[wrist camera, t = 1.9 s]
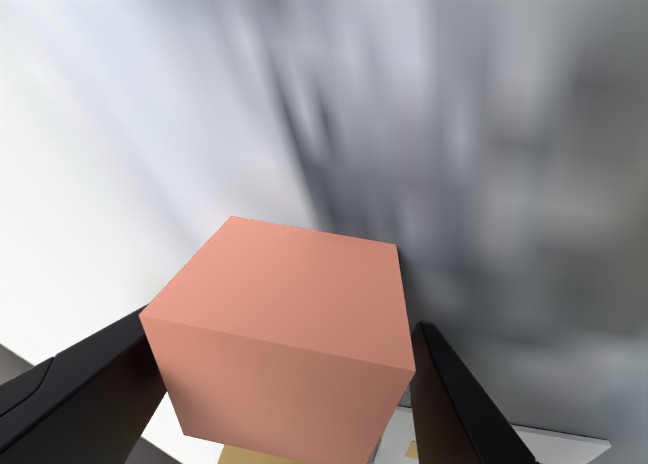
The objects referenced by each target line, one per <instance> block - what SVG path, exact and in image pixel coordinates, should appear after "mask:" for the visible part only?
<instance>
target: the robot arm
mask: <svg viewBox="0 0 648 464" xmlns="http://www.w3.org/2000/svg"><path fill="white" fill-rule="evenodd" d="M147 305H148V304H147ZM147 305H145V306H143V307H142V308H140V309H138V310H136V311H134V312H132V313H131V314H129V315H127V316H125V317H123V318H122V319H120V320H118V321H116V322H114V323H112V324H111V325H109V326H107V327H105V328H103V329H102V330H100V331H98V332H96V333H94V334H92V335H91V336H89V337H87V338H85V339H83V340H82V341H80V342H78V343H76V344H74V345H72V346H71V347H69V348H67V349H65V350H63V351H62V352H60V353H58V354H57V355H56V356H55V357H50V358H49V359H47V360H45V361H43V362H41V363H40V364H38V365H36V366H34V367H32V368H31V369H29V370H27V371H25V372H23V373H21V374H19V375H17V376H15V377H14V378H12V379H10V380H8V381H6V382H4V383H2V384H0V464H124V463H125V462H126V460H127V458H128V457H129V455H130V453H131V451H132V450H133V448H134V446H135V445H136V443H137V441H138V439H139V437H140V436H141V434H142V433H143V431H144V429H145V428H146V426H147V424H148V423H149V421H150V419H151V417H152V416H153V414H154V412H155V411H156V409H157V407H158V406H159V404H160V402H161V400H162V399H163V397H164V395H165V394H166V392H167V389H166V386H165V384H164V381H163V378H162V376H161V373H160V370H159V368H158V365H157V362H156V360H155V357H154V354H153V352H152V349H151V347H150V344H149V341H148V339H147V336H146V333H145V331H144V328H143V325H142V323H141V320H140V318H139V314H140V313H141V312H142V311H143V310H144V309H145V308H146V307H147ZM411 343H412V350H413V356H414V363H415V369H416V372H415V374H414V376H413V378H412V380H411V381H410V395H411V406H412V414H413V422H414V429H415V437H416V444H417V452H418V460H419V464H540V463H539V462H538V461H536V458H535V456H534V455H533V454H532V452H531V451H530V450H529V448H528V447H527V446H526V444H525V443H524V442H523V440H522V439H521V438H520V437H519V435H518V434H517V433H516V431H515V430H514V429H513V427H512V426H511V425H510V423H509V422H508V421H507V419H506V418H505V417H504V415H503V414H502V413H501V412H500V410H499V409H498V408H497V406H496V405H495V404H494V402H493V401H492V400H491V398H490V397H489V396H488V394H487V393H486V392H485V391H484V389H483V388H482V387H481V385H480V384H479V383H478V381H477V380H476V379H475V377H474V376H473V375H472V373H471V372H470V371H469V369H468V368H467V367H466V366H465V364H464V363H463V362H462V360H461V359H460V358H459V356H458V355H457V354H456V352H455V351H454V350H453V348H452V347H451V346H450V345H449V343H448V342H447V341H446V339H445V338H444V337H443V335H442V334H441V333H440V331H439V330H438V329H437V327H436V326H435V325H434V324H433V323H429V322H424V321H419V322H418V323H417V324H416V327H415V329H414V331H413V333H412V335H411Z"/></svg>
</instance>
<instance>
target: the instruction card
mask: <svg viewBox="0 0 648 464" xmlns="http://www.w3.org/2000/svg"><path fill="white" fill-rule="evenodd" d="M511 426H512V427H513V429H514V430H515V431H516V433H517V434H518V435H519V437H520V438H521V439H522V440H523V442H524V443H525V444H526V446H527V447H528V448H529V450H530V451H531V452H532V454H533V455H534V456H535V458H536V461H538V462H539V463H540V464H588V463H589V462H591V461H592V460H593V459H595V458H596V457H598V456H599V455H600V454H602V453H603V452H605V451H606V450H607V449H609V448H610V447H612V446H611V444H610V443H609V441H606V440H600V439H594V438H588V437H582V436H576V435H570V434H564V433H558V432H552V431H546V430H540V429H534V428H527V427H521V426H515V425H511ZM373 464H419V460H418V452H417V444H416V437H415V429H414V422H413V414H412V408H406V407H400V406H397V408H396V410H395V412H394V413H393V415H392V417H391V419H390V421H389V423H388V425H387V427H386V429H385V430H384V432H383V434H382V437H381V441H380V444H379V447H378V450H377V453H376V456H375V459H374V462H373Z"/></svg>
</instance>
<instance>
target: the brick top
mask: <svg viewBox="0 0 648 464" xmlns="http://www.w3.org/2000/svg"><path fill="white" fill-rule="evenodd" d="M217 464H308V463H304V462H300V461H295V460H291V459H286V458H282V457H278V456H273V455H269V454H265V453H260V452H256V451H252V450H247V449H243V448H239V447H234V446H230V445H224V448H223V450H222V453H221V455H220V458H219V461H218V463H217Z"/></svg>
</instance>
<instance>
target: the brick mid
mask: <svg viewBox="0 0 648 464" xmlns="http://www.w3.org/2000/svg"><path fill="white" fill-rule="evenodd" d="M139 318H140V320H141V323H142V325H143V328H144V331H145V333H146V336H147V339H148V341H149V344H150V347H151V349H152V352H153V354H154V357H155V360H156V362H157V365H158V368H159V370H160V373H161V376H162V378H163V381H164V384H165V386H166V389H167V391H168V394H169V397H170V399H171V402H172V405H173V407H174V410H175V413H176V415H177V418H178V421H179V423H180V426H181V428H182V431H183V434H184V435H186V436H191V437H195V438H199V439H204V440H208V441H212V442H217V443H221V444H225V445H230V446H234V447H239V448H243V449H247V450H252V451H256V452H260V453H265V454H269V455H273V456H278V457H282V458H286V459H291V460H295V461H300V462H304V463H308V464H367V462H368V461H369V459H370V457H371V455H372V453H373V451H374V449H375V447H376V445H377V444H378V442H379V440H380V438H381V436H382V434H383V432H384V430H385V429H386V427H387V425H388V423H389V421H390V419H391V417H392V415H393V413H394V412H395V410H396V408H397V406H398V404H399V402H400V400H401V398H402V396H403V395H404V393H405V391H406V389H407V387H408V385H409V383H410V381H411V380H412V378H413V376H414V374H415V372H416V369H415V363H414V356H413V350H412V343H411V337H410V331H409V324H408V318H407V311H406V305H405V298H404V292H403V285H402V279H401V273H400V266H399V260H398V253H397V247H396V245H395V244H389V243H384V242H378V241H372V240H366V239H361V238H355V237H349V236H343V235H338V234H332V233H326V232H321V231H315V230H309V229H303V228H298V227H292V226H286V225H280V224H275V223H269V222H263V221H258V220H252V219H246V218H240V217H235V216H231V217H230V218H229V219H228V220H227V221H226V222H225V223H224V224H223V225H222V226H221V228H220V229H219V230H218V231H217V232H216V233H215V234H214V235H213V236H212V237H211V238H210V239H209V240H208V241H207V242H206V244H205V245H204V246H203V247H202V248H201V249H200V250H199V251H198V252H197V253H196V254H195V255H194V256H193V257H192V258H191V260H190V261H189V262H188V263H187V264H186V265H185V266H184V267H183V268H182V269H181V270H180V271H179V272H178V273H177V274H176V276H175V277H174V278H173V279H172V280H171V281H170V282H169V283H168V284H167V285H166V286H165V287H164V288H163V289H162V291H161V292H160V293H159V294H158V295H157V296H156V297H155V298H154V299H153V300H152V301H151V302H150V303H149V304H148V305H147V307H146V308H145V309H144V310H143V311H142V312H141V313H140V314H139Z"/></svg>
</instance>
